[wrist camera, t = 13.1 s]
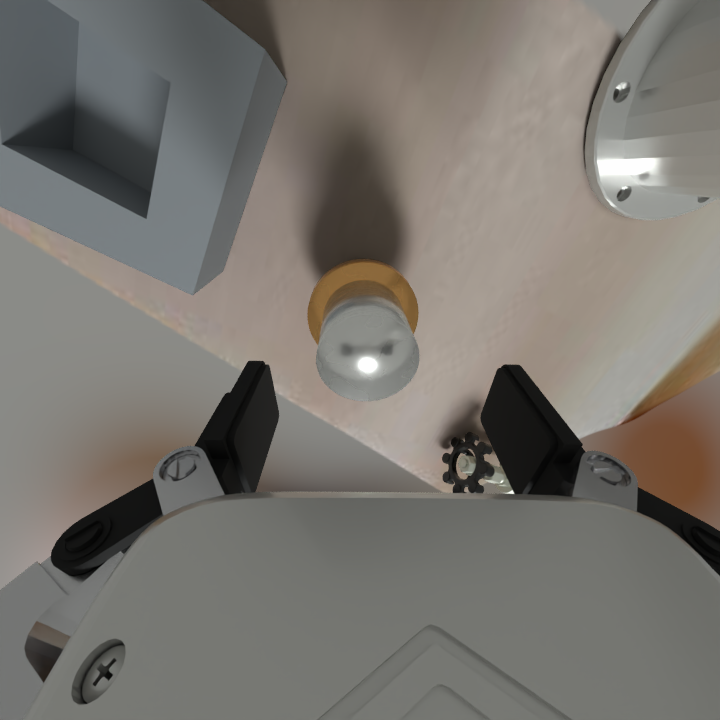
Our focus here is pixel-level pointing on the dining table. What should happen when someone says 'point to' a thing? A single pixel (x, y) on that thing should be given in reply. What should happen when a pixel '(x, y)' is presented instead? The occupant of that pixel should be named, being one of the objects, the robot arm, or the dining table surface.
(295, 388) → the dining table surface
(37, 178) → the housing
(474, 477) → the valve
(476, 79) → the dining table surface
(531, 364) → the dining table surface
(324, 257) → the dining table surface
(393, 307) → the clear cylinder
